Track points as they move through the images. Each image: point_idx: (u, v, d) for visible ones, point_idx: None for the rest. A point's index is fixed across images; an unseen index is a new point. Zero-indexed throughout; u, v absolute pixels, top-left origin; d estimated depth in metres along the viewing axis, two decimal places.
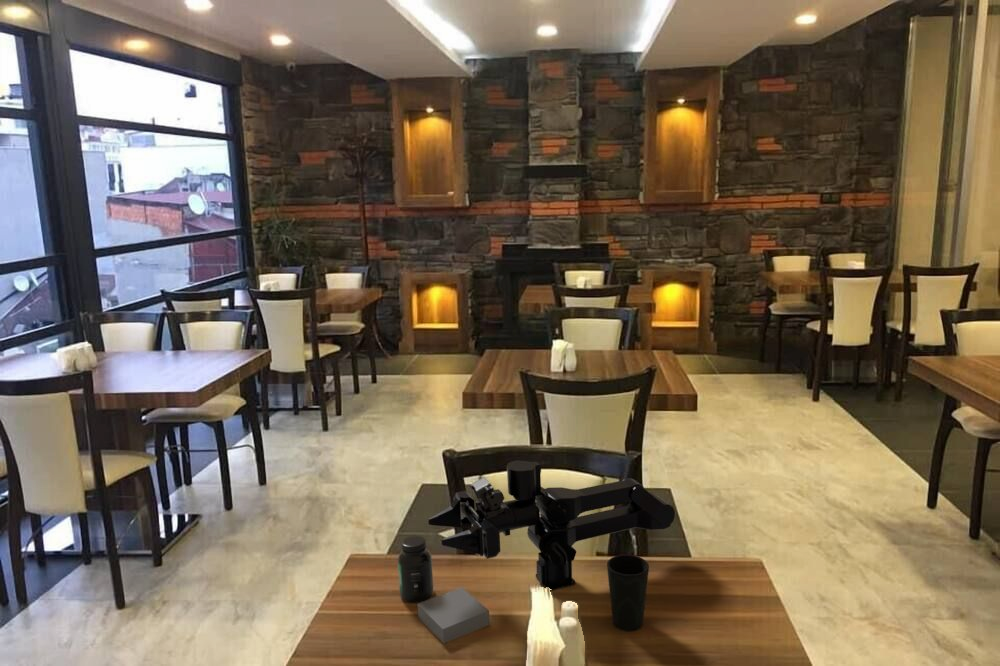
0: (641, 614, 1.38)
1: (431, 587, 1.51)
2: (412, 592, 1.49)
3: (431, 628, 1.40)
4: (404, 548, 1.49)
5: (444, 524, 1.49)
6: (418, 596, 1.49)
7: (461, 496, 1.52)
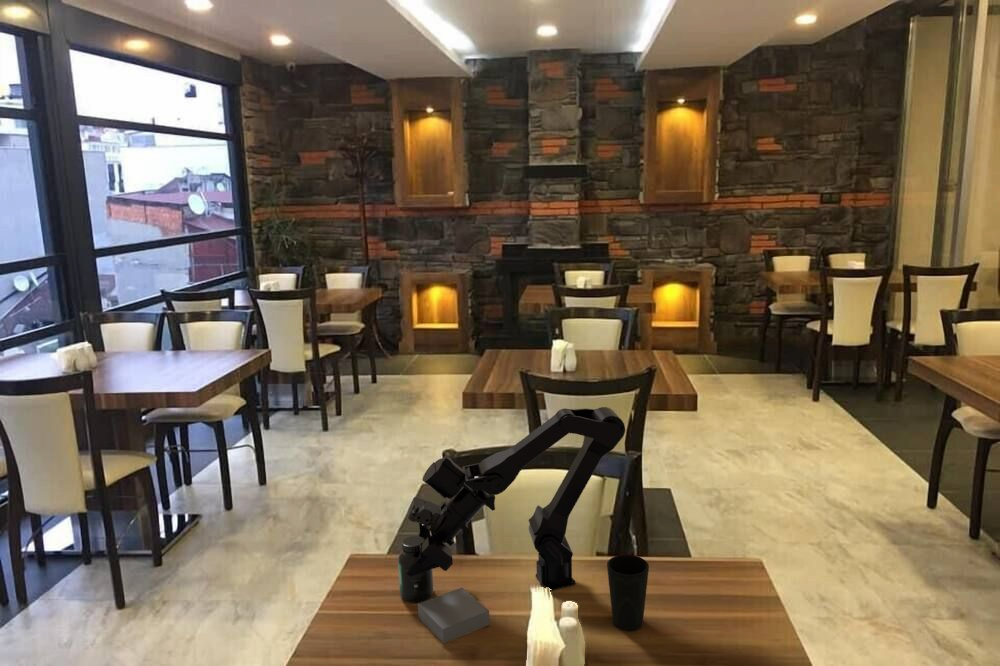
0: (641, 614, 1.38)
1: (431, 587, 1.51)
2: (412, 592, 1.49)
3: (431, 628, 1.40)
4: (404, 548, 1.49)
5: None
6: (418, 595, 1.49)
7: None
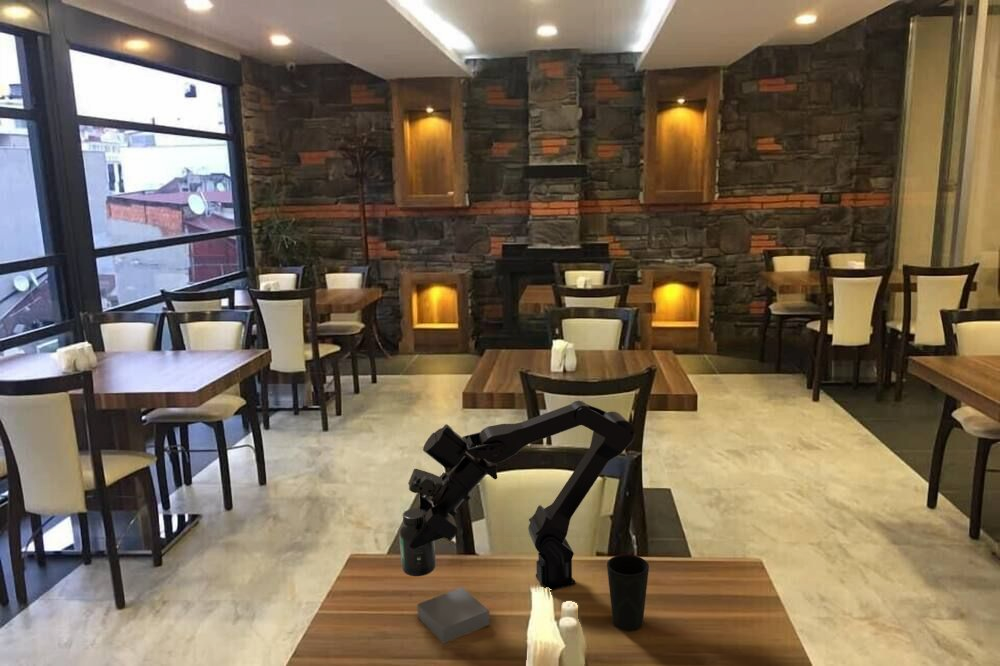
0: (641, 614, 1.38)
1: (434, 560, 1.48)
2: (415, 565, 1.46)
3: (431, 628, 1.40)
4: (406, 521, 1.46)
5: None
6: (421, 568, 1.46)
7: None
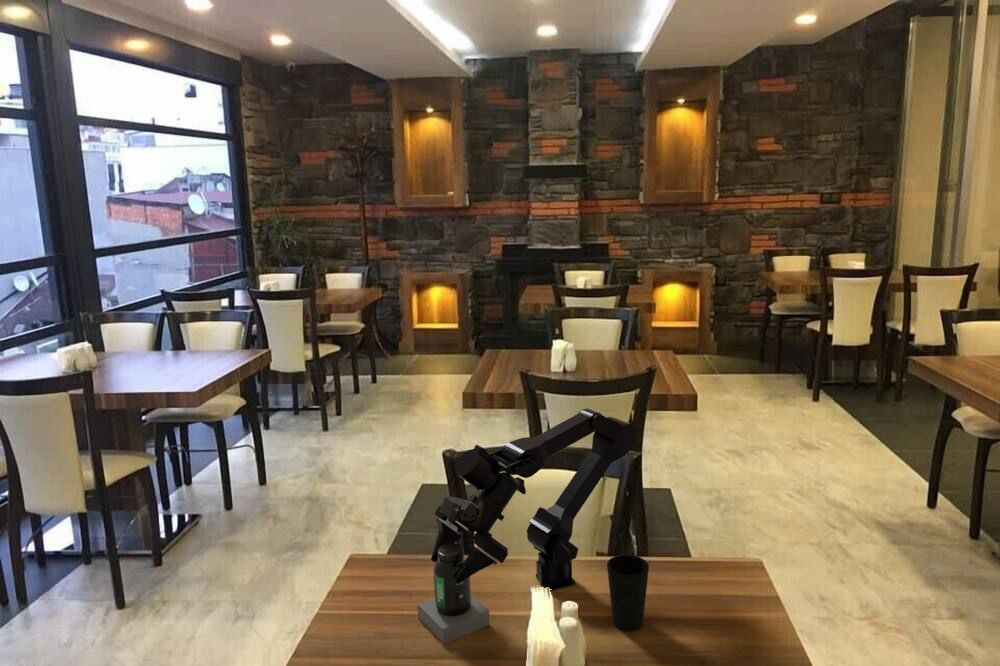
0: (641, 614, 1.38)
1: None
2: (457, 603, 1.39)
3: (431, 628, 1.40)
4: (445, 559, 1.38)
5: None
6: (463, 606, 1.40)
7: (441, 516, 1.45)
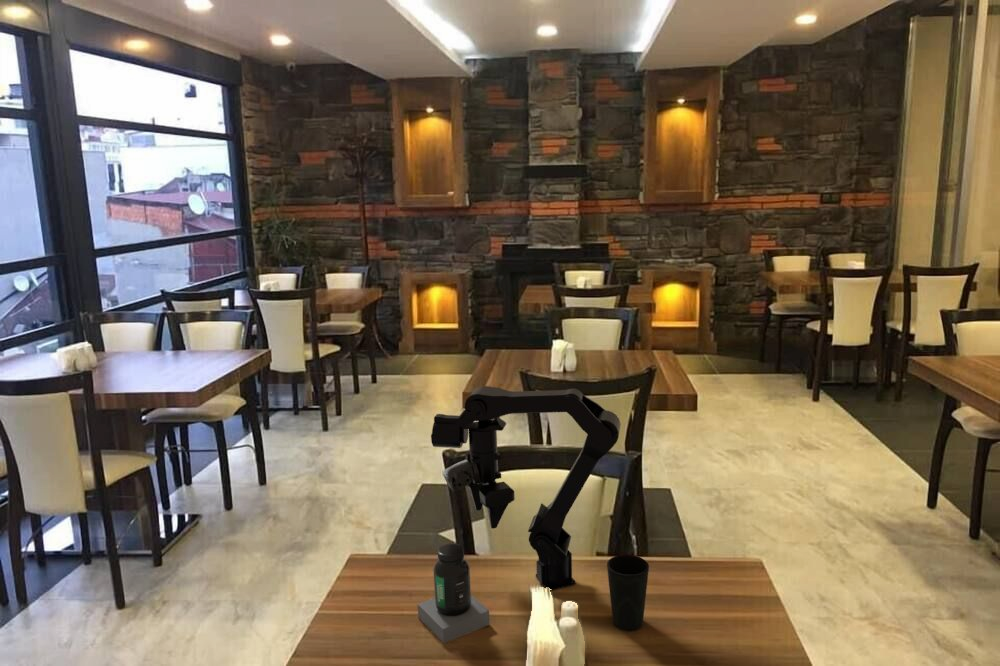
0: (641, 614, 1.38)
1: None
2: (457, 603, 1.39)
3: (431, 628, 1.40)
4: (445, 559, 1.38)
5: None
6: (463, 606, 1.40)
7: None
